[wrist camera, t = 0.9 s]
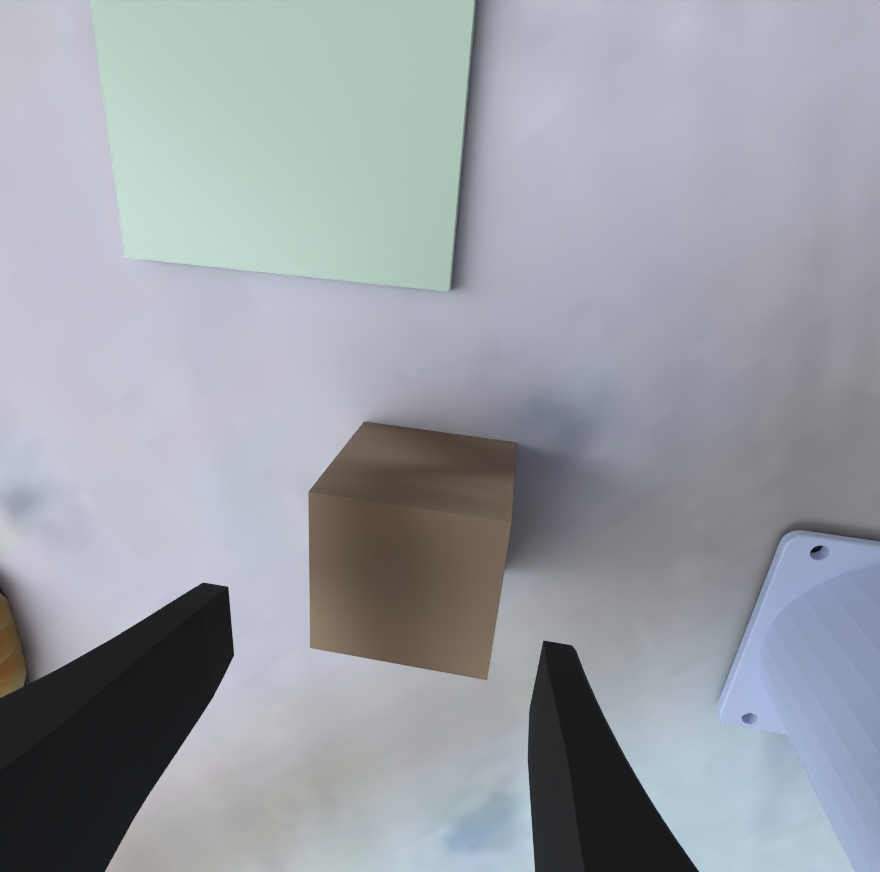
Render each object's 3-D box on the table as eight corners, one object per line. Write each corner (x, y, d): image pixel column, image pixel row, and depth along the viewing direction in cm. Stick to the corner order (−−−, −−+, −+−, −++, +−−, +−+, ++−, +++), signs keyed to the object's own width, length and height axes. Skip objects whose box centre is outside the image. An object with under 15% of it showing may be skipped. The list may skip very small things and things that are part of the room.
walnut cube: (515, 441, 17) (512, 522, 13) (496, 569, 19) (487, 679, 15) (364, 421, 18) (308, 491, 13) (360, 548, 20) (310, 648, 15)
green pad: (492, -175, 12) (490, -187, 12) (450, 290, 16) (449, 291, 15) (76, -180, 13) (63, -192, 13) (133, 256, 17) (125, 257, 17)
